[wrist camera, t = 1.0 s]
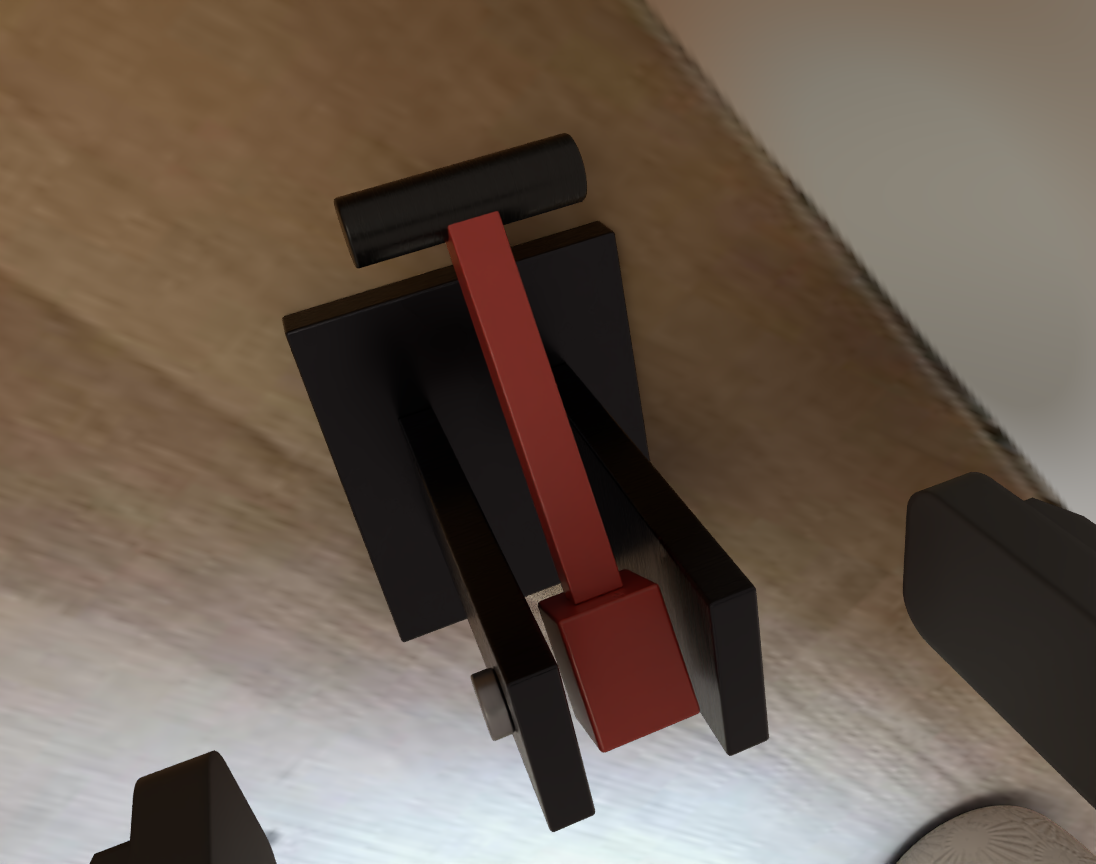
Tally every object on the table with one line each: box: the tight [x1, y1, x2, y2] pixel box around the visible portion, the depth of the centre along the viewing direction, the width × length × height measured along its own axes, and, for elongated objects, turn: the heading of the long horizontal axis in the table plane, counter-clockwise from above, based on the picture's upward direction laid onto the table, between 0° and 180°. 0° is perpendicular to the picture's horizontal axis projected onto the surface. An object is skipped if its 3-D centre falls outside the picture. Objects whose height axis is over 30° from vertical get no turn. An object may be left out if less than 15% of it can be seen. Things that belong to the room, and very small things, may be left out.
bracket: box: [282, 221, 769, 832], centre depth 23 cm, size 11×9×12 cm
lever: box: [334, 133, 700, 752], centre depth 19 cm, size 12×5×2 cm, turn 11°
